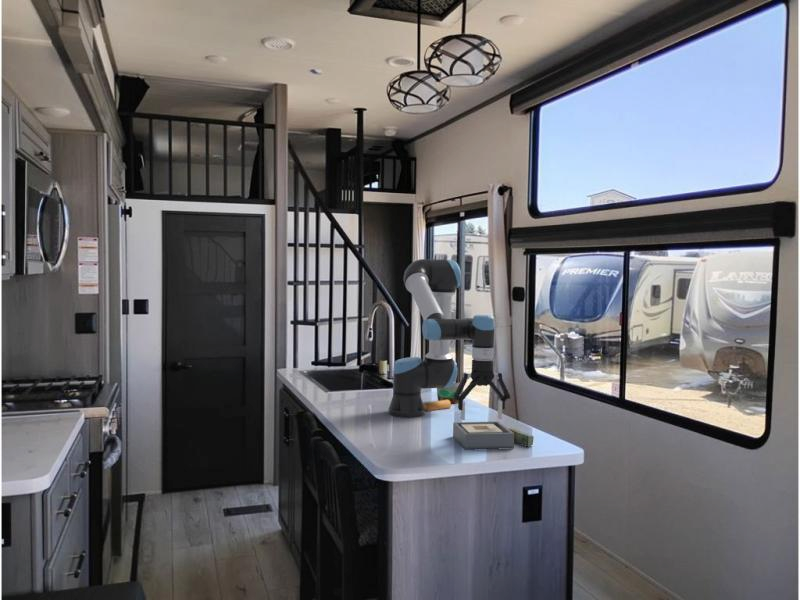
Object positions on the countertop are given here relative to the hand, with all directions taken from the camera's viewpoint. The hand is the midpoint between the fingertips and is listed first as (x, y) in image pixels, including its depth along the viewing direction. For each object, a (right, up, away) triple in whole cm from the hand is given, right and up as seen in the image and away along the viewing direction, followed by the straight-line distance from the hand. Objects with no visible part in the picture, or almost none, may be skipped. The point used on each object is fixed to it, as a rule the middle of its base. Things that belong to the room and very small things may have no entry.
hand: (481, 419), depth 226 cm
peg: (-18, -4, +47) cm, 51 cm away
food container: (-7, -5, +63) cm, 64 cm away
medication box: (+13, -9, 0) cm, 16 cm away
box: (0, -8, -2) cm, 8 cm away
